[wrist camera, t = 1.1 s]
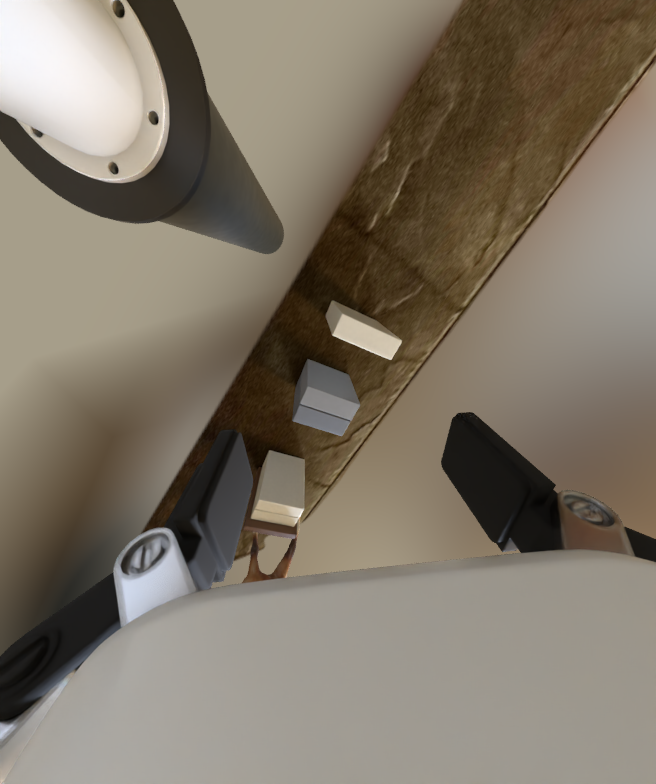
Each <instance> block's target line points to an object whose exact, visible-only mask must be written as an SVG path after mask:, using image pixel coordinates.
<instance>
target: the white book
mask: <svg viewBox="0 0 656 784" xmlns="http://www.w3.org/2000/svg"><path fill="white" fill-rule="evenodd" d="M326 319H327V322H328V324H329V327H330V330H331V332H332V335H333V336H335V337H338V338H340V339H342V340H345V341H347V342H349V343H352V344H354V345H356V346H359V347H361V348H363V349H366V350H368V351H371V352H373V353H375V354H378V355H380V356H382V357H385V358H387V359H389V360H391V359H392V357H393V356H394V354H395V352H396V351H397V349H398V347H399V345H400V344H401V342H402V340H401V339H399V338H398V337H397V336H396V335H394V334H393V333H392V332H390V331H389V330H388V329H386V328H385V327H384V326H383V325H381V324H380V323H379V322H377V321H376V320H374V319H372V318H370V317H367V316H365V315H363V314H361V313H359V312H357V311H355V310H352V309H350V308H348V307H346V306H344V305H342V304H340V303H337V302H335V301H333V300H332V301H331V304H330V306H329V309H328V311H327V313H326Z"/></svg>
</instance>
